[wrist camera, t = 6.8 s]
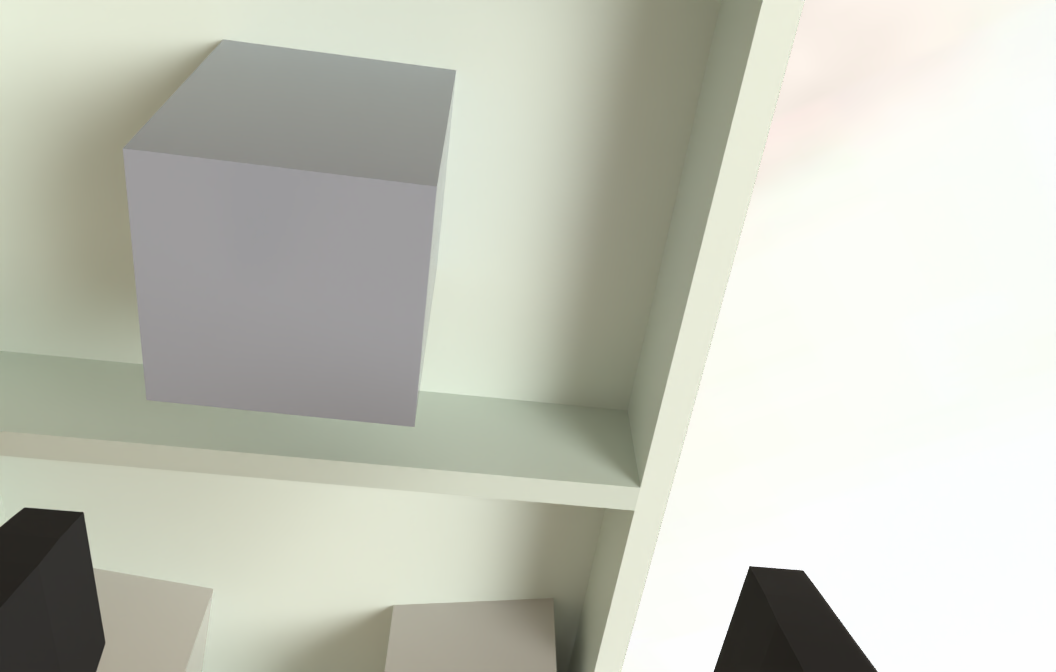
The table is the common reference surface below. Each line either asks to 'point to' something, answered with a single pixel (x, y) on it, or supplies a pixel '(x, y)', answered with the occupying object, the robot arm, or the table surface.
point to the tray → (454, 327)
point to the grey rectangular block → (290, 232)
